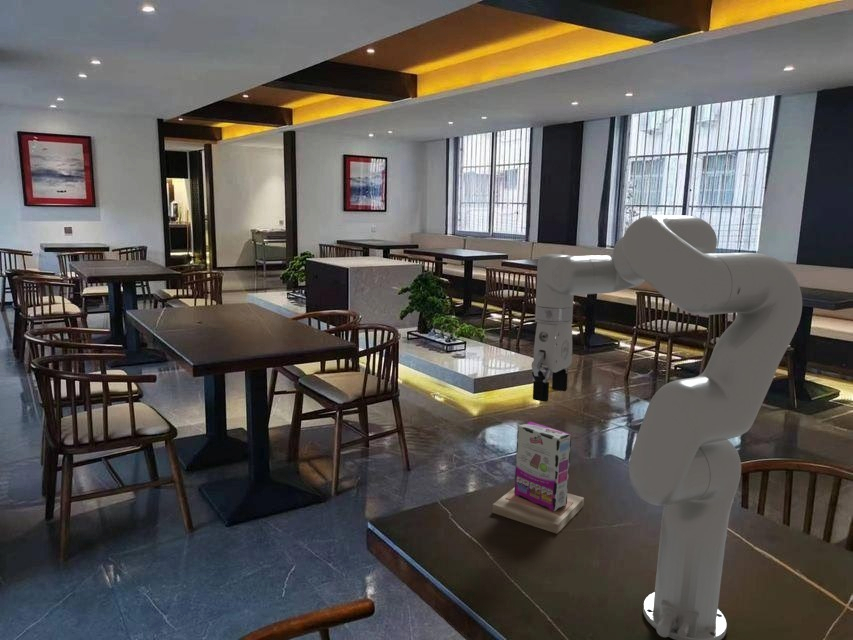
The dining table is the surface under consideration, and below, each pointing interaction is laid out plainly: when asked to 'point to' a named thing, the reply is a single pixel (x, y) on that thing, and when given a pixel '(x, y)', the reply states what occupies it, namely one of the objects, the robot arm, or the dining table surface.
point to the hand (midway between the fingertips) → (550, 395)
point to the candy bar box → (542, 465)
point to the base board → (537, 511)
